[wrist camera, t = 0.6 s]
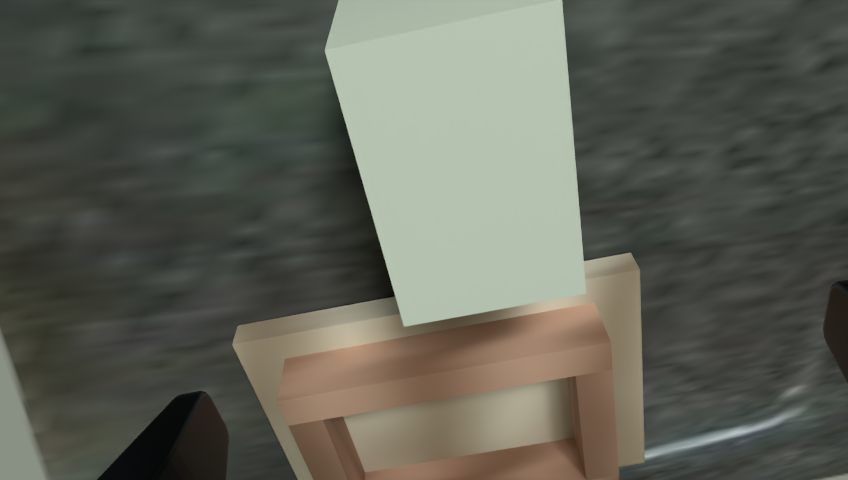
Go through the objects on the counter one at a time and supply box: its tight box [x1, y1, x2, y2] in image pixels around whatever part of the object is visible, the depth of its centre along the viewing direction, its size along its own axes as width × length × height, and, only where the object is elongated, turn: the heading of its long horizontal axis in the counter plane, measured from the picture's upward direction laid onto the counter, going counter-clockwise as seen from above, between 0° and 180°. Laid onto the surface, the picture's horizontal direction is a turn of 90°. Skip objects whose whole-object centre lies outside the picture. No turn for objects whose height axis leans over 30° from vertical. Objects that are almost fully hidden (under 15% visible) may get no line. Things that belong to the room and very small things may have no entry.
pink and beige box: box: [232, 253, 645, 480], centre depth 24 cm, size 14×10×3 cm
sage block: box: [325, 0, 586, 327], centre depth 17 cm, size 4×7×6 cm, turn 11°
